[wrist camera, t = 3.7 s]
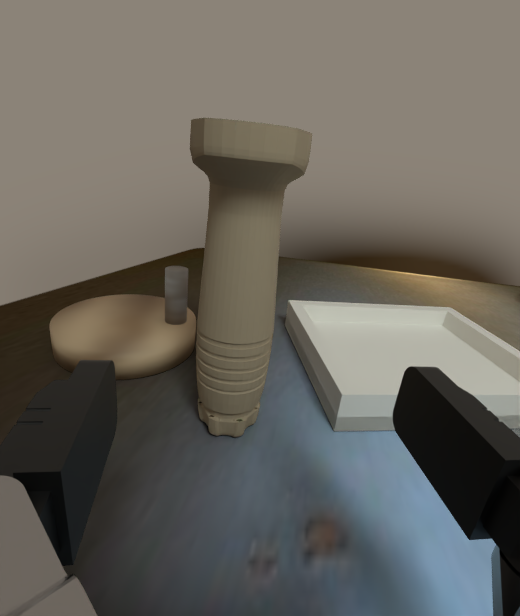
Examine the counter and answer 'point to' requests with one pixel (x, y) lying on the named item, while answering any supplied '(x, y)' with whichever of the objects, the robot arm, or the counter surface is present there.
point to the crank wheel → (128, 330)
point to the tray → (397, 358)
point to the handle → (240, 261)
